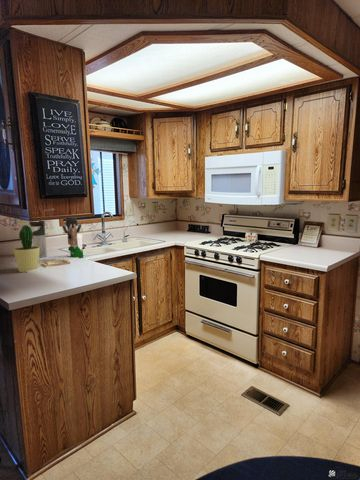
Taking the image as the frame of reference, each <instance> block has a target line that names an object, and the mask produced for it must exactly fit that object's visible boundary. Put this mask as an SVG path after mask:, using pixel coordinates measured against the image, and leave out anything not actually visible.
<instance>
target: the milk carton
mask: <svg viewBox="0 0 360 480" xmlns="http://www.w3.org/2000/svg"><path fill="white" fill-rule="evenodd" d="M83 235H84V234H80V233H77V242H78V245H76V246H73V245H69V251H70V252H69V255H70V258H78V259H82V258H84V252H83V251H84V249H83Z"/></svg>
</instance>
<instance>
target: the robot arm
mask: <svg viewBox="0 0 360 480" xmlns="http://www.w3.org/2000/svg"><path fill="white" fill-rule="evenodd" d="M45 222H46V220H45V221H39V222H29V221H28V223H29V224H28V225H29V227H30V228H31V227H33V228H34V227H39V228H38V229H36V230H32V232H33V233H34V234H33V233H32V235H33V238H32V245H33V246H39V247H40V251H39V259H40V258H45V257H48V255H47V253H48V252H47V239H46V227H45V226H46V225H45V224H46V223H45ZM61 227H62V229H63V232H64V233H65V234H67V239H68V238H69V239H71V234H70V233H71V228H77V234H79V233H80V230H81V228H82V224H80V223H78V217H77V218H66V217H65V224H63V225H62V226H61ZM67 228H68V231H67ZM33 242H34V243H33Z"/></svg>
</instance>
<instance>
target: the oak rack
mask: <svg viewBox="0 0 360 480" xmlns="http://www.w3.org/2000/svg"><path fill="white" fill-rule="evenodd" d="M62 260H63V263H57V264H50V265H46V263H45V262H46V261H44V262H41V263H40V265H41V266H42V267H45V268H50V267H51V268H52V267H57V266H65V265H70V264H71V262H70V261H68V259H67V260H66V259H62Z"/></svg>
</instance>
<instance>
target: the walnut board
mask: <svg viewBox="0 0 360 480" xmlns="http://www.w3.org/2000/svg"><path fill="white" fill-rule="evenodd" d="M77 228H78V227H76V228H71V233H70V234H71V239H69V238H68V237H67V244H68V245H69V246H70V245H73V246H76V245H78V242H77V234H78V233H77ZM66 230H67V231H68V227H66Z"/></svg>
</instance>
